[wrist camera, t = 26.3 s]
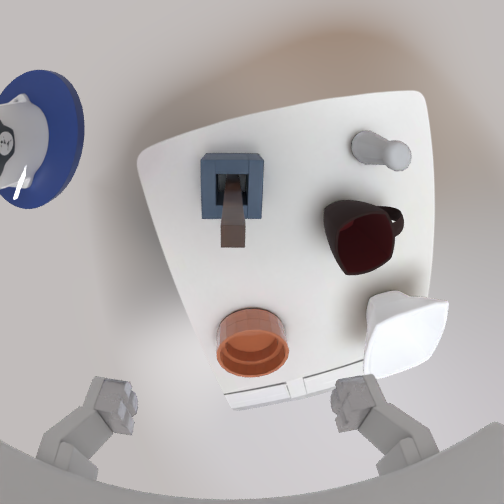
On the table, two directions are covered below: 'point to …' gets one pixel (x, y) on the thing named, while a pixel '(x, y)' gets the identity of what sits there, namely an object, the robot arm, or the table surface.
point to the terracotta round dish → (251, 343)
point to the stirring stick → (232, 214)
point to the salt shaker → (381, 151)
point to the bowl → (401, 332)
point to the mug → (361, 234)
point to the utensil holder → (231, 165)
